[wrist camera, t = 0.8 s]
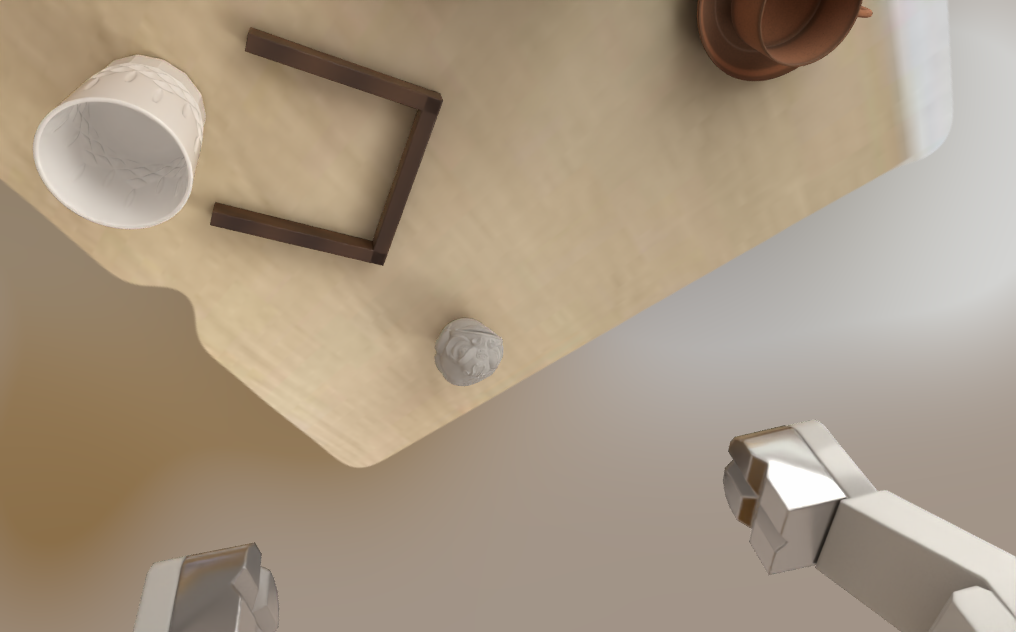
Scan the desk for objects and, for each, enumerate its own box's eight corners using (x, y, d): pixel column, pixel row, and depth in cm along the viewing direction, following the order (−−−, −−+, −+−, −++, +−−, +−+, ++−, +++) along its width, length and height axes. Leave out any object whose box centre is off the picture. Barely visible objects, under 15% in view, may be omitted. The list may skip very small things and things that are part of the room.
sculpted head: (506, 302, 62) (523, 351, 56) (479, 360, 65) (493, 410, 60) (443, 289, 59) (455, 338, 54) (419, 349, 63) (427, 401, 57)
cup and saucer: (851, -126, 46) (912, -118, 41) (832, 50, 53) (882, 75, 49) (685, -81, 45) (727, -67, 41) (689, 91, 53) (725, 119, 48)
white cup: (163, 181, 48) (131, 253, 41) (57, 97, 44) (-1, 161, 36) (240, 112, 47) (222, 173, 39) (138, 17, 42) (96, 66, 34)
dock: (212, 215, 51) (209, 225, 50) (250, 26, 44) (248, 33, 43) (382, 256, 56) (383, 266, 55) (440, 93, 49) (443, 100, 48)
